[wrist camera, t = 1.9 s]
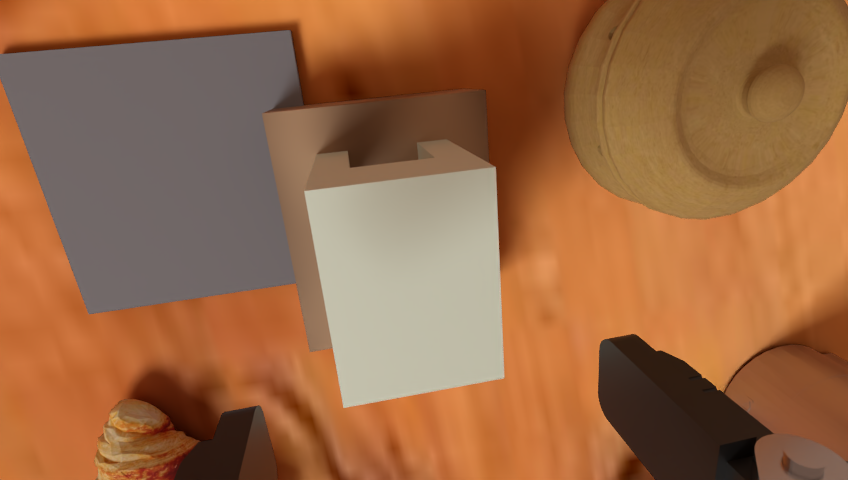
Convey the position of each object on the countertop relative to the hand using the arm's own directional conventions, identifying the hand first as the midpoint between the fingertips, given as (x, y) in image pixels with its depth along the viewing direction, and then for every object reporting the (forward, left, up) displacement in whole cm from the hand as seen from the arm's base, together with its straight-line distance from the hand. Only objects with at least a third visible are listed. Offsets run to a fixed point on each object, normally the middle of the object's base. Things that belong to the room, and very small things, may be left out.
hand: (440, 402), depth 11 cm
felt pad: (+10, -3, -17) cm, 20 cm away
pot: (-15, -5, -17) cm, 23 cm away
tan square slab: (0, 0, -17) cm, 17 cm away
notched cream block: (0, 0, -13) cm, 13 cm away
